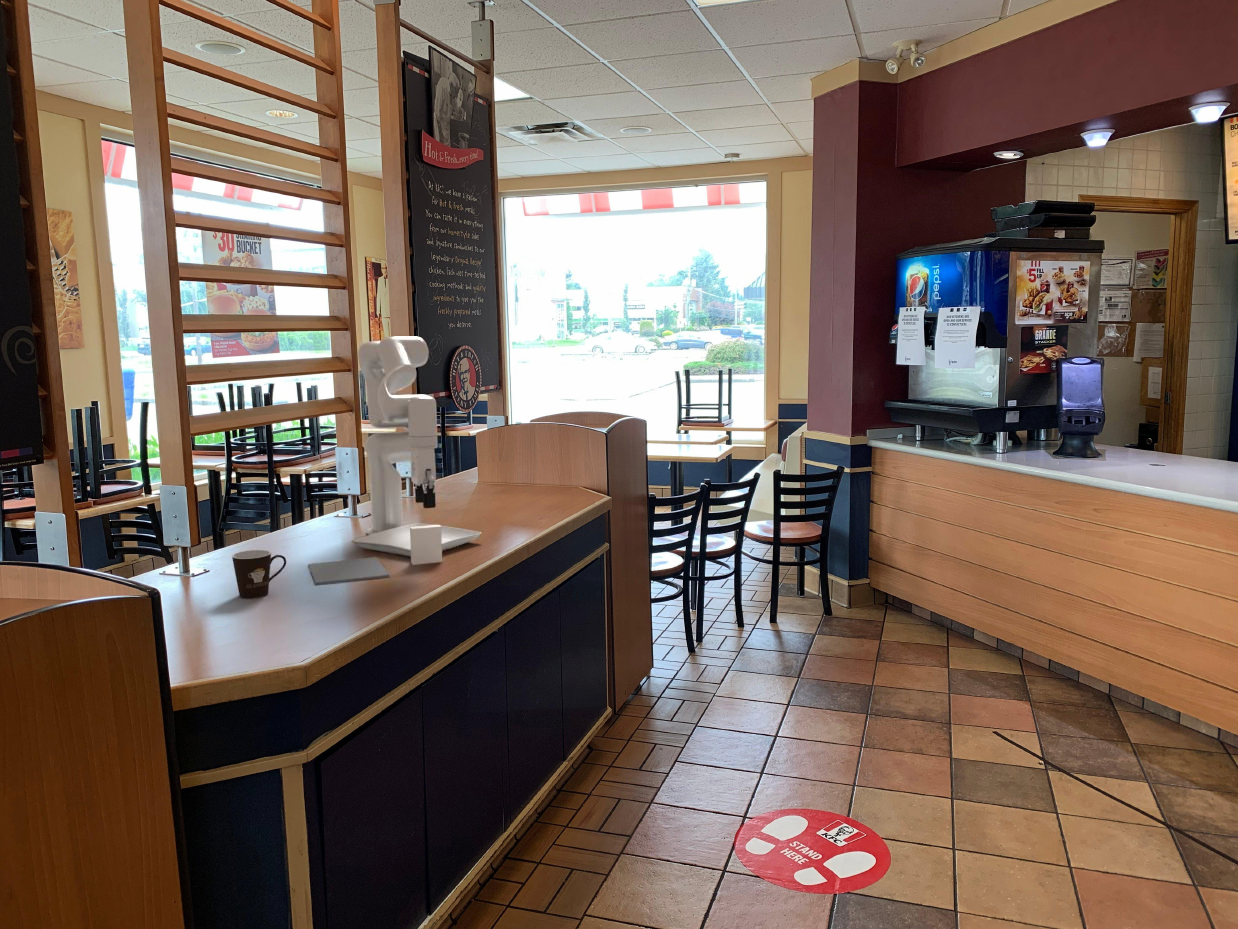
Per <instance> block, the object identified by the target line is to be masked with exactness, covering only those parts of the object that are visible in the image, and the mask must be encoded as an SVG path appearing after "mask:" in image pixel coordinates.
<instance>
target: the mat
mask: <svg viewBox="0 0 1238 929" xmlns="http://www.w3.org/2000/svg"><path fill="white" fill-rule="evenodd" d="M307 566H308V569H309V572H310V574H311V575H312V578H313V580H314V582H315V585H316V586H317V585H318V586H320V585H328V584H335V583H336V584H337V583H345V582H346V583H347V582H355V581H364V580H372V579H382V578H390V573H389V572H388V571H387V569H386V568H385V566H384V565H383V564H382V562H380V560H379V558H377V556H373V557H372V556H371V557H366V558H364V557H363V558H355V559H345V560H332V561H324V562H315V563H314V562H313V563H307Z"/></svg>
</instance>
